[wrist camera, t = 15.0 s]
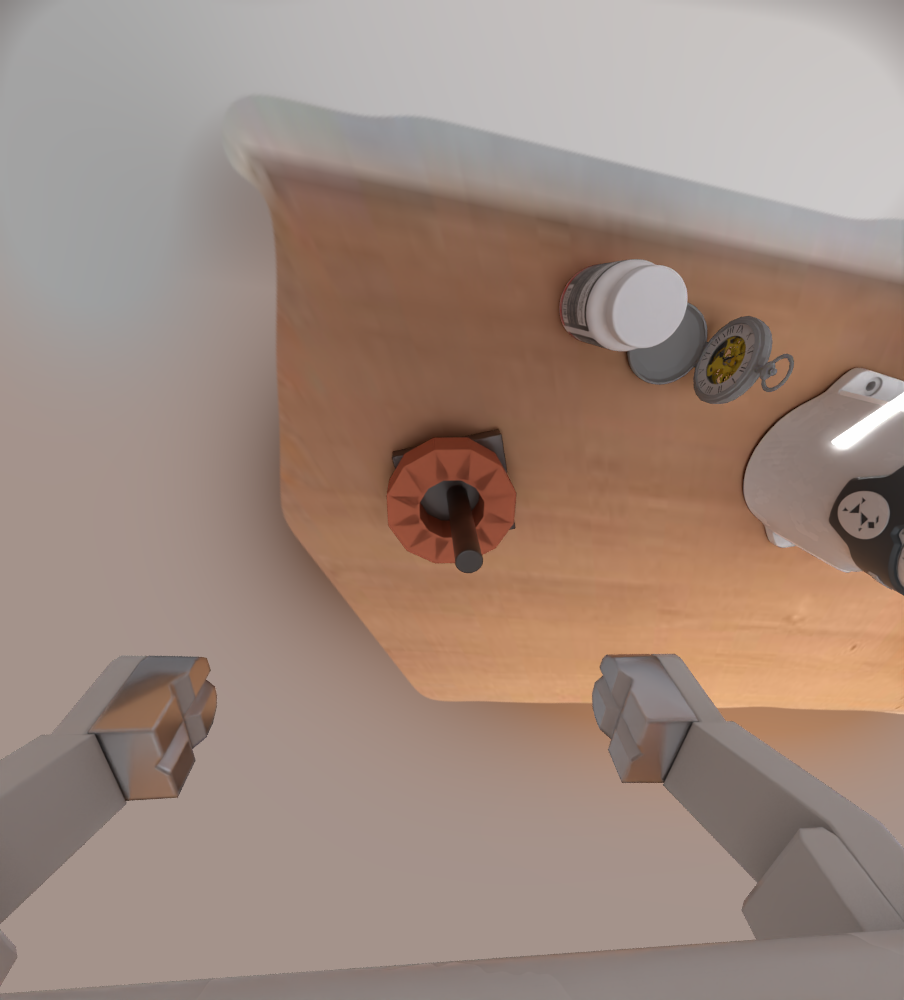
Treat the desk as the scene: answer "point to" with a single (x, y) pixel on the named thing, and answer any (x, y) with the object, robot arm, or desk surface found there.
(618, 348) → the pill bottle
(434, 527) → the ring
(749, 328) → the pocket watch
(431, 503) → the peg on square base
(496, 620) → the desk surface
